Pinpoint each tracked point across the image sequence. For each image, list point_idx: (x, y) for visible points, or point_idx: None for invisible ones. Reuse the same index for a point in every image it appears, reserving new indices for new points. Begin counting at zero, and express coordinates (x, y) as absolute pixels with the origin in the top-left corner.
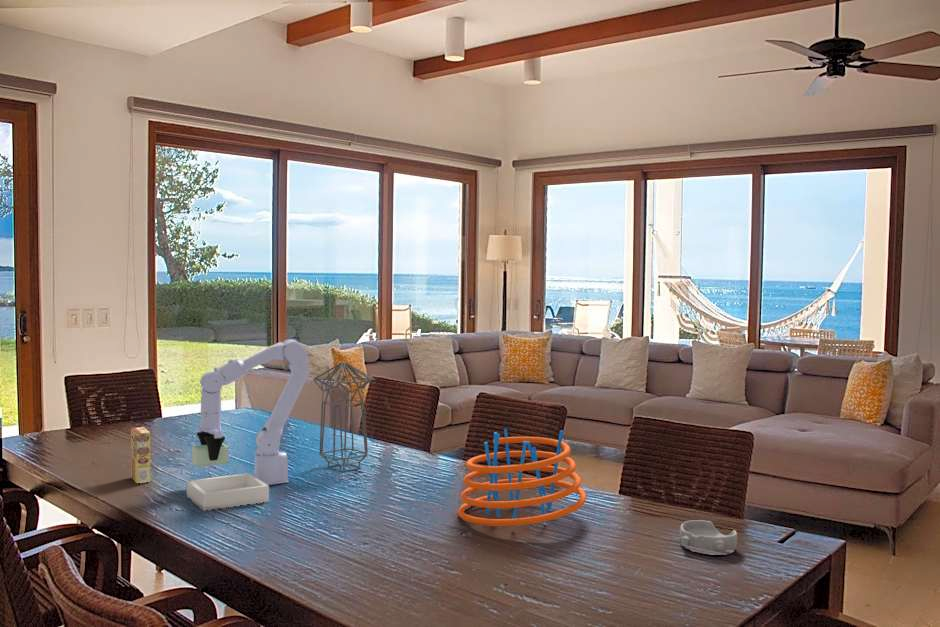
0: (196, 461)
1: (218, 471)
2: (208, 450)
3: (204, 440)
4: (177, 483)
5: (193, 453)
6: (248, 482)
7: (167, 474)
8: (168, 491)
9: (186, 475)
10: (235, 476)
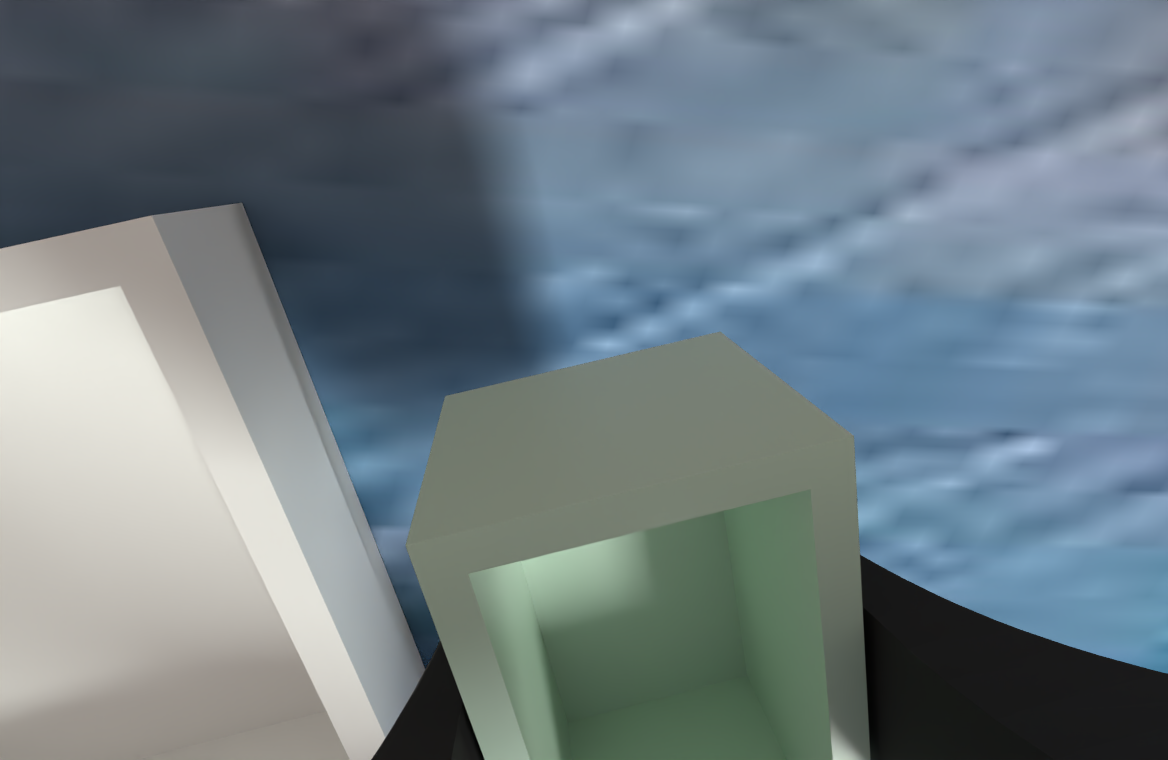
0: (494, 410)
1: (1021, 505)
2: (440, 708)
3: (933, 735)
4: (777, 143)
5: (689, 406)
6: (321, 749)
7: (1157, 65)
8: (487, 23)
9: (1028, 248)
10: (329, 707)
